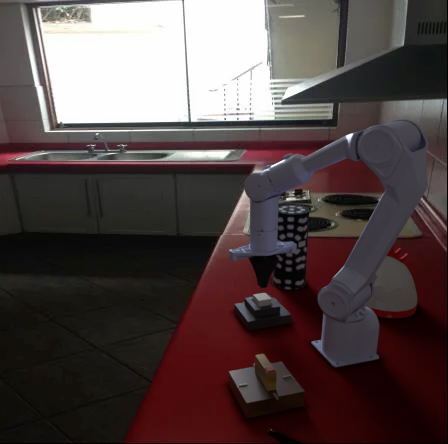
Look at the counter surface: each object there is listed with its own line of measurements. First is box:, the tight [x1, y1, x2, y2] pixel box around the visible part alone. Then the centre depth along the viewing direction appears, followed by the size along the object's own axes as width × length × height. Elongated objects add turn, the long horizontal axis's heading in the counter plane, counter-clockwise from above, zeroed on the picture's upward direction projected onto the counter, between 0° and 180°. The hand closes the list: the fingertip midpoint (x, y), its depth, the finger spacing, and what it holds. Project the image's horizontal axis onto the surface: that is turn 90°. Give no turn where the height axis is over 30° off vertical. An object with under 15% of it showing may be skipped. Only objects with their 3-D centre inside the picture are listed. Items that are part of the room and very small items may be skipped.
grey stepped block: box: [233, 293, 292, 331], centre depth 93 cm, size 10×8×4 cm
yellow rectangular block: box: [254, 353, 277, 391], centre depth 69 cm, size 5×2×4 cm, turn 11°
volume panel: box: [228, 361, 306, 419], centre depth 70 cm, size 10×9×3 cm
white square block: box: [252, 292, 271, 307], centre depth 93 cm, size 3×3×2 cm
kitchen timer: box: [365, 243, 418, 319], centre depth 95 cm, size 14×14×15 cm
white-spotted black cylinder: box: [271, 204, 311, 290], centre depth 107 cm, size 8×8×20 cm
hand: (262, 285), depth 92 cm, fingers closed
